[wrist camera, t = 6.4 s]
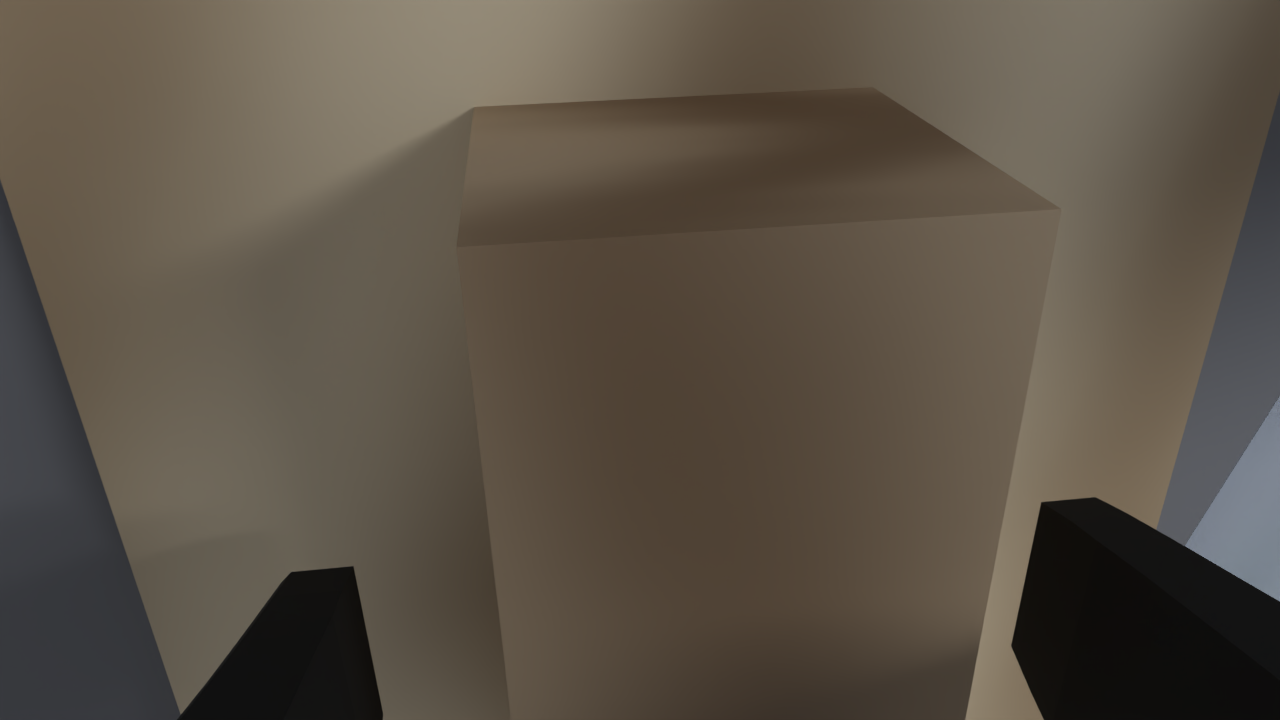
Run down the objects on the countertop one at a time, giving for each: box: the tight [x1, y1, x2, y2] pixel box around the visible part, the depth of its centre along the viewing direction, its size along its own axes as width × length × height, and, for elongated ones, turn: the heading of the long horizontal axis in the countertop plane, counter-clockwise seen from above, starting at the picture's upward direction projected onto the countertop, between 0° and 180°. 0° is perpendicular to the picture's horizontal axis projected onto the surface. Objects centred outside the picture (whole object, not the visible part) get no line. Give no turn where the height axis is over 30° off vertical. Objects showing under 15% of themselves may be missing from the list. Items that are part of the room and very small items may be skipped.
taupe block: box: [0, 0, 1280, 720], centre depth 10 cm, size 13×13×5 cm
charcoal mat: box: [0, 91, 1280, 720], centre depth 13 cm, size 16×16×1 cm
